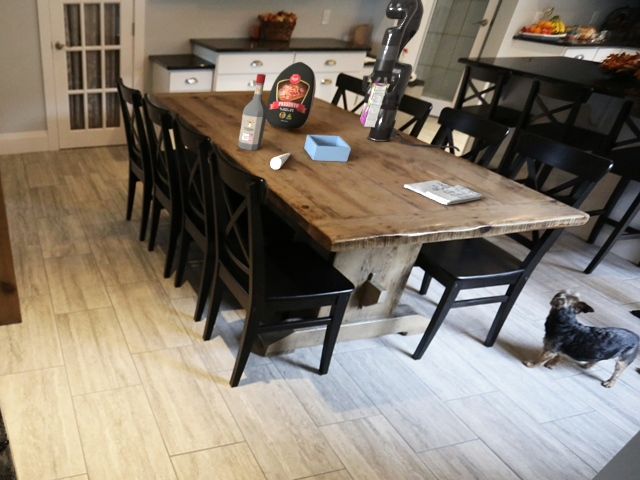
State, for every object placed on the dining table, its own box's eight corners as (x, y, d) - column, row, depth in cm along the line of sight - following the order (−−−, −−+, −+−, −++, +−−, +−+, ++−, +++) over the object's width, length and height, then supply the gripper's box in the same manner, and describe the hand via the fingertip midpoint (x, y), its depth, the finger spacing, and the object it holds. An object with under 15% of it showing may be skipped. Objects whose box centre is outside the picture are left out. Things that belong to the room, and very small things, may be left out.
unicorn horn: (298, 156, 219) (300, 145, 216) (279, 171, 203) (282, 159, 200) (287, 154, 221) (289, 143, 218) (268, 168, 205) (271, 157, 202)
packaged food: (260, 130, 251) (272, 63, 232) (266, 121, 265) (278, 58, 247) (304, 136, 245) (320, 68, 226) (308, 126, 259) (323, 61, 241)
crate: (335, 149, 229) (339, 135, 225) (346, 161, 215) (351, 147, 211) (304, 148, 229) (307, 134, 225) (313, 160, 215) (316, 146, 212)
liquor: (255, 151, 223) (268, 77, 205) (236, 147, 227) (247, 75, 208) (262, 146, 229) (275, 74, 211) (243, 143, 233) (255, 71, 215)
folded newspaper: (446, 206, 177) (448, 201, 176) (401, 187, 191) (403, 181, 190) (482, 199, 183) (485, 194, 182) (436, 181, 198) (438, 175, 196)
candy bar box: (358, 120, 219) (370, 79, 209) (370, 121, 219) (383, 80, 208) (362, 127, 211) (375, 84, 200) (375, 128, 210) (388, 85, 200)
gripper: (401, 56, 202) (387, 101, 212) (365, 55, 202) (353, 100, 213) (408, 59, 196) (393, 106, 206) (371, 58, 196) (358, 104, 207)
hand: (373, 103), depth 209 cm, fingers closed on candy bar box, 5 cm apart
